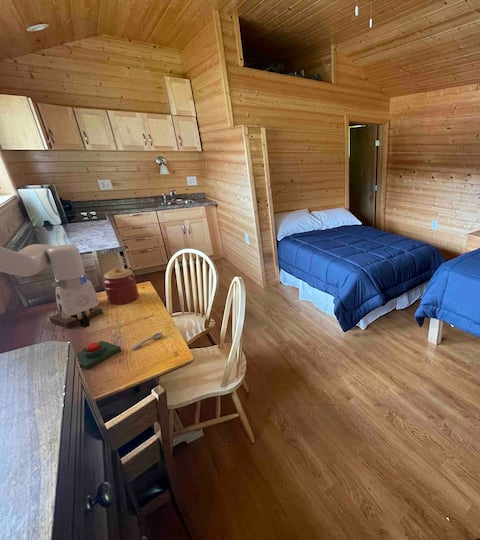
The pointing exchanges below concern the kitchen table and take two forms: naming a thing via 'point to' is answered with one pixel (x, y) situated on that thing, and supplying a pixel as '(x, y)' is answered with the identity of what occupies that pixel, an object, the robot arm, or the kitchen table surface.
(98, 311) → the plate
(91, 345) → the button
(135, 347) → the spoon
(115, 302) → the kitchen canister
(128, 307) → the kitchen table surface
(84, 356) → the button box
